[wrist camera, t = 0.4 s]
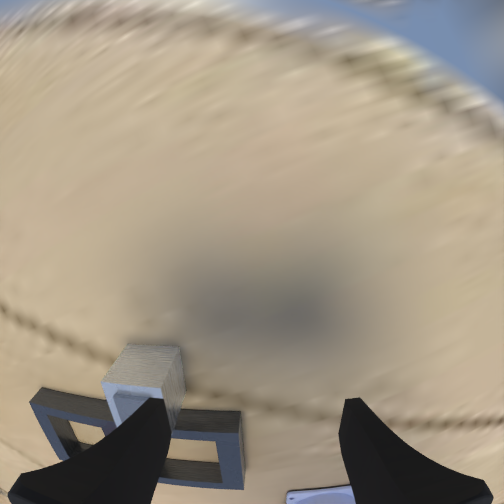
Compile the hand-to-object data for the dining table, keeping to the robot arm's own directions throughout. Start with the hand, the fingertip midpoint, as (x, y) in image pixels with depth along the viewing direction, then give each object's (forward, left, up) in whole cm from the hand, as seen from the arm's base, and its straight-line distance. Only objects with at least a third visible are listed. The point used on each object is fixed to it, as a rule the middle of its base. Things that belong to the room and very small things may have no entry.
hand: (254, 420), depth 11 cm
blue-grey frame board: (-12, +11, -10) cm, 19 cm away
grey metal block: (-4, +8, -10) cm, 13 cm away
